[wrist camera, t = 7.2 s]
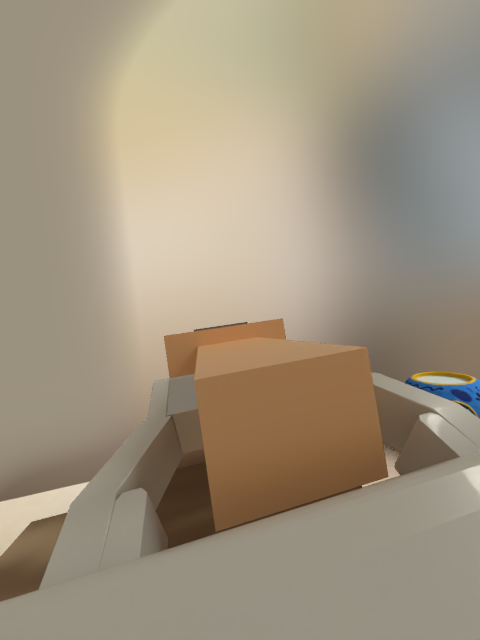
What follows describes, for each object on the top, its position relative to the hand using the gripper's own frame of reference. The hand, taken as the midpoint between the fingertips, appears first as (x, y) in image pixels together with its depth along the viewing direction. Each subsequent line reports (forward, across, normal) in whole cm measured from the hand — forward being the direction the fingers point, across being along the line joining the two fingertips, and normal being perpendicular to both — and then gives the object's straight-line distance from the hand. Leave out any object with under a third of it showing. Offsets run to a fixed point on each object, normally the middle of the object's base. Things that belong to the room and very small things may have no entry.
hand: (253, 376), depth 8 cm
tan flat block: (+4, 0, +5) cm, 7 cm away
